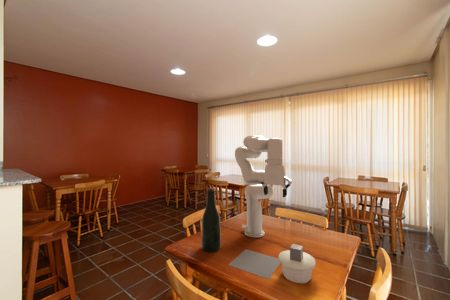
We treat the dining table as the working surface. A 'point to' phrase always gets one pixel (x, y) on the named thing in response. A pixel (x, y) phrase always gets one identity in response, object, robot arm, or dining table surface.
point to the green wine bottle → (211, 224)
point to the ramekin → (297, 274)
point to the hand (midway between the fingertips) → (275, 195)
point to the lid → (297, 258)
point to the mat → (256, 263)
